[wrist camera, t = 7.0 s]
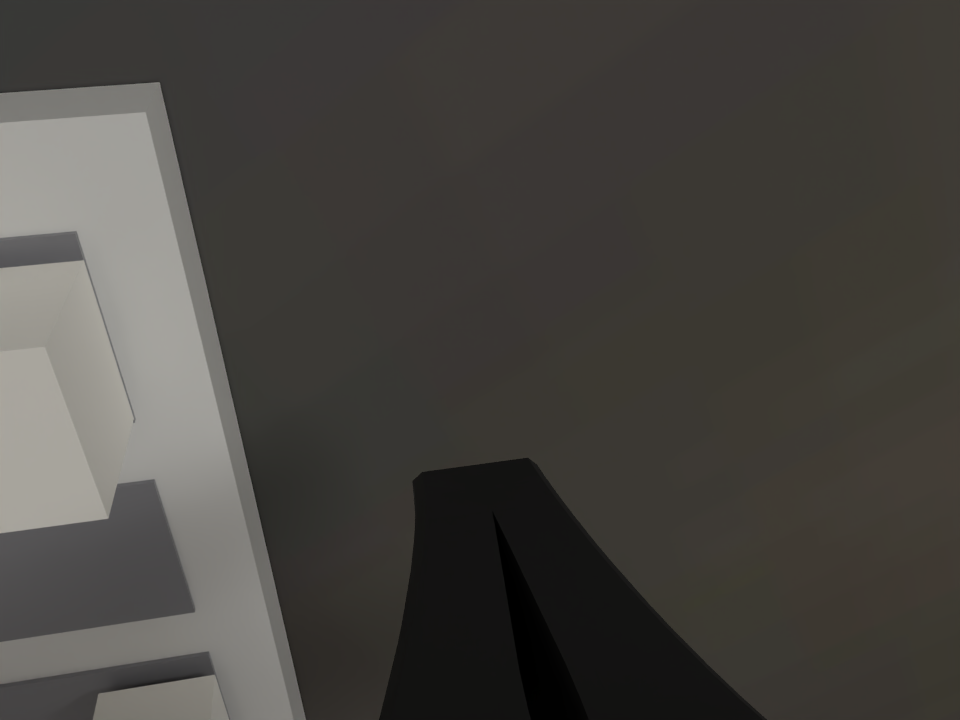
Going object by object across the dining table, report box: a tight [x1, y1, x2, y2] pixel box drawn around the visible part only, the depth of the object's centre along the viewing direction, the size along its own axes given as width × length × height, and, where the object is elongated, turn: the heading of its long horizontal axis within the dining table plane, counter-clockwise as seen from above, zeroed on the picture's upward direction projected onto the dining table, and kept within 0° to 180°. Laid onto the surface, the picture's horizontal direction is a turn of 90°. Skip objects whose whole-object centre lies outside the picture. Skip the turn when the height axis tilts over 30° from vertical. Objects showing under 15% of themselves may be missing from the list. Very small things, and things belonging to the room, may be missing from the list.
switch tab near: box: [0, 260, 134, 533], centre depth 12 cm, size 3×2×2 cm
